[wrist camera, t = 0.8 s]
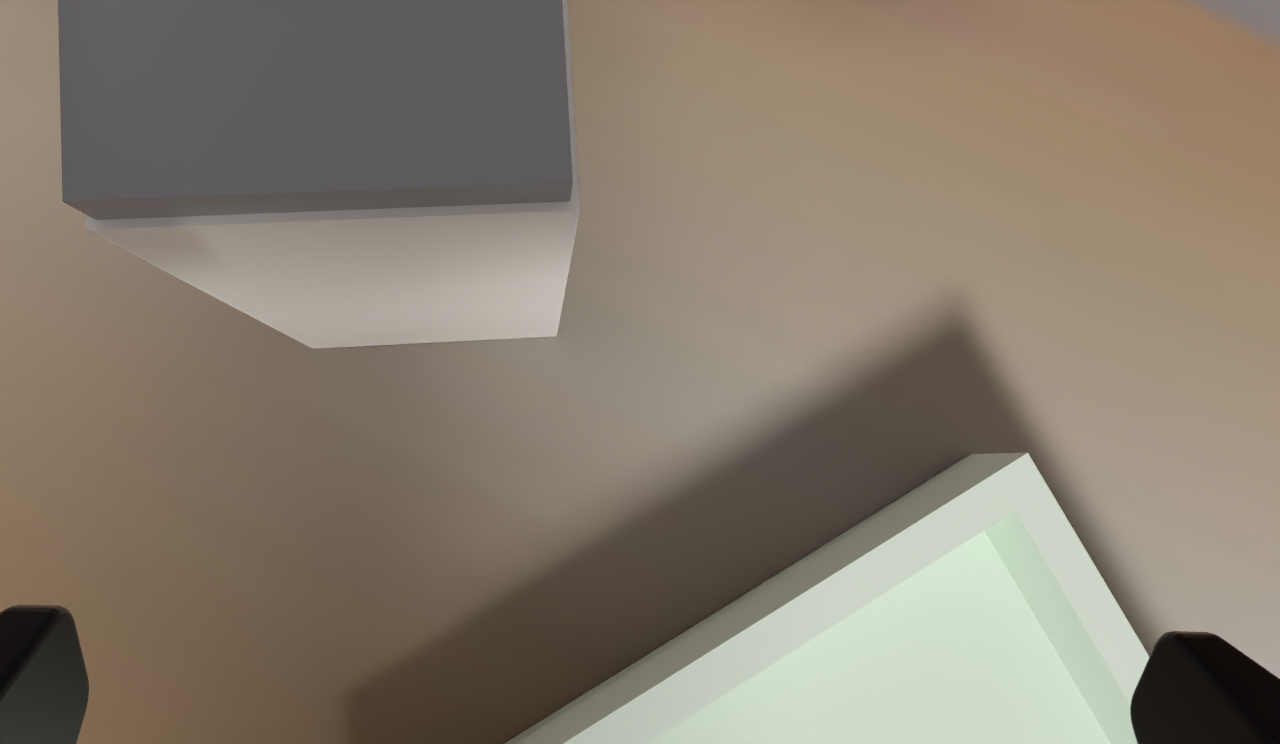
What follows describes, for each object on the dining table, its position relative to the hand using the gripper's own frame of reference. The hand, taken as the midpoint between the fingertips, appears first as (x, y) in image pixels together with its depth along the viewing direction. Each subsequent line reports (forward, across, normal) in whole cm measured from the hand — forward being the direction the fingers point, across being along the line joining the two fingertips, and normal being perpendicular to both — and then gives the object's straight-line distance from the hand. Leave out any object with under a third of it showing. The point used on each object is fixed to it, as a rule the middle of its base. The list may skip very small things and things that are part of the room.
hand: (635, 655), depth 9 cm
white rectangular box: (+15, +3, +3) cm, 16 cm away
